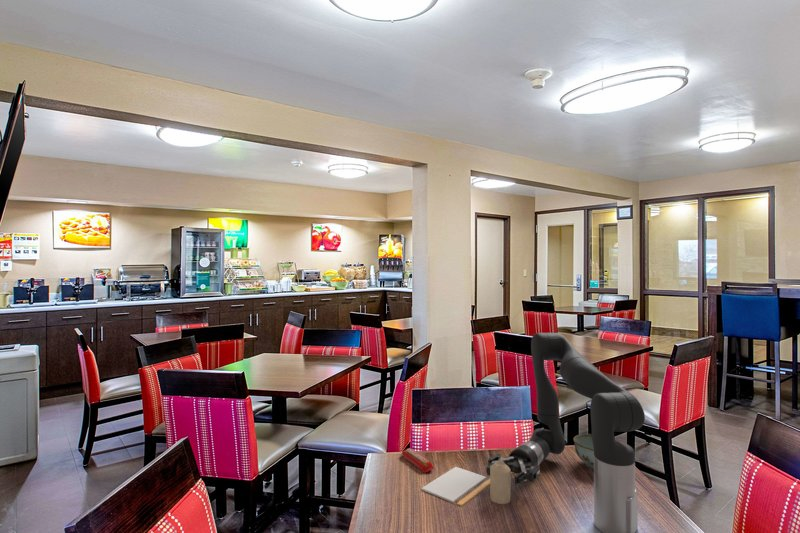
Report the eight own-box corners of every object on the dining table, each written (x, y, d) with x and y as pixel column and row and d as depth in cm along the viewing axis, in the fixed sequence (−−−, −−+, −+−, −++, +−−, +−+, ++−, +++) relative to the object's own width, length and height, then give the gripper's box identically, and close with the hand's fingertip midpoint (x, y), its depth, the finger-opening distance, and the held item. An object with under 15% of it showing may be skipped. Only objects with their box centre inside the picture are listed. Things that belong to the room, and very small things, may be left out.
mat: (486, 478, 136) (486, 476, 136) (453, 502, 123) (453, 501, 123) (455, 468, 144) (455, 466, 144) (421, 489, 130) (421, 488, 130)
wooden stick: (494, 481, 135) (494, 480, 135) (461, 506, 121) (461, 504, 121) (489, 479, 136) (489, 478, 136) (457, 504, 122) (457, 502, 122)
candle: (510, 505, 121) (510, 468, 121) (490, 503, 122) (490, 467, 122) (510, 495, 127) (510, 459, 127) (490, 493, 128) (490, 458, 128)
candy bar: (400, 456, 153) (400, 447, 153) (409, 454, 155) (409, 445, 155) (425, 475, 139) (425, 466, 139) (435, 472, 141) (435, 463, 141)
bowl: (565, 465, 145) (565, 440, 145) (585, 453, 154) (584, 430, 154) (607, 480, 135) (607, 454, 135) (626, 467, 144) (626, 442, 144)
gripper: (505, 439, 142) (479, 456, 130) (549, 451, 133) (525, 470, 120) (505, 462, 142) (479, 481, 130) (549, 476, 133) (525, 498, 120)
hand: (501, 476), depth 125 cm, fingers open, 8 cm apart
